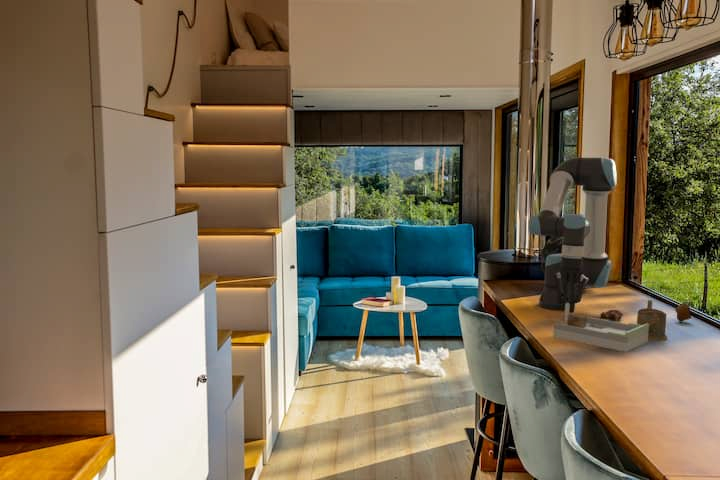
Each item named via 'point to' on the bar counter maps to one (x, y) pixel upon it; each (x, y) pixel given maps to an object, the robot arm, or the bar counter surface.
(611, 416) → the bar counter surface
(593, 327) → the grey rectangular tray
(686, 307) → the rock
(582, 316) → the block
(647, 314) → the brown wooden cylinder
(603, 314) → the figurine
